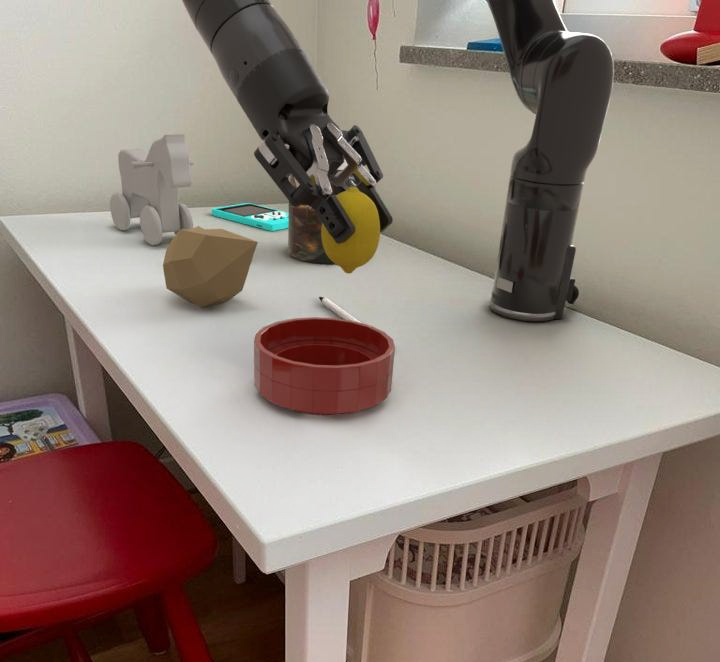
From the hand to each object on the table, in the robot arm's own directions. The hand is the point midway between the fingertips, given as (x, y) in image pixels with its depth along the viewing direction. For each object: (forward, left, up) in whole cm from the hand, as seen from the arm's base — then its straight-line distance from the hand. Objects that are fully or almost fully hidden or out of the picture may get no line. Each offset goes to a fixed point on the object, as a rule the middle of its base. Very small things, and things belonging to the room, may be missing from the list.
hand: (366, 232), depth 72 cm
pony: (+30, -59, -16) cm, 69 cm away
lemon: (+1, -1, -4) cm, 5 cm away
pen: (0, -20, -16) cm, 26 cm away
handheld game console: (+14, -76, -16) cm, 79 cm away
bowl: (+3, +1, -16) cm, 16 cm away
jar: (+2, -53, -16) cm, 56 cm away
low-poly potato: (+18, -28, -16) cm, 38 cm away
